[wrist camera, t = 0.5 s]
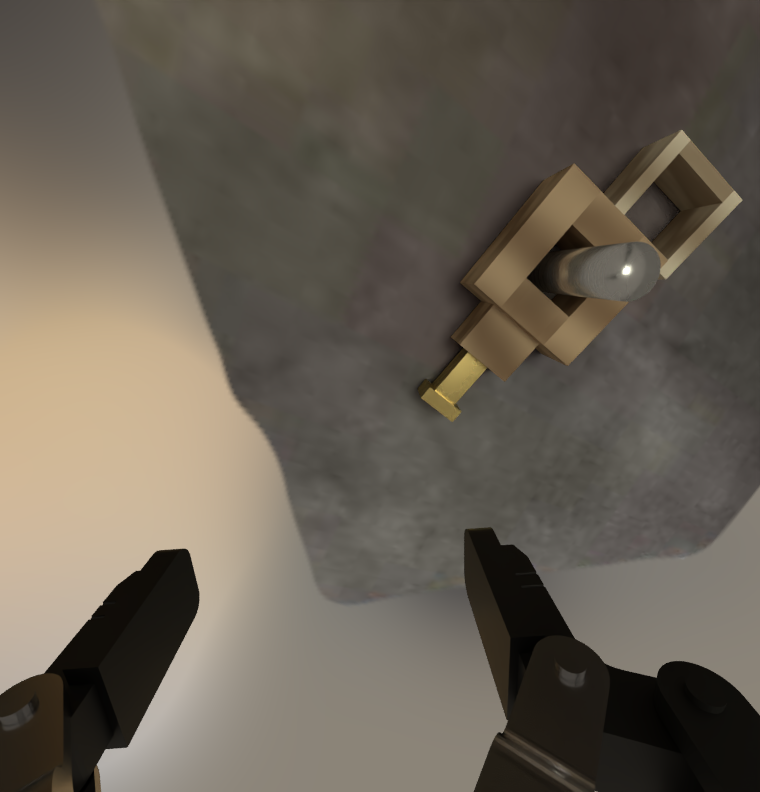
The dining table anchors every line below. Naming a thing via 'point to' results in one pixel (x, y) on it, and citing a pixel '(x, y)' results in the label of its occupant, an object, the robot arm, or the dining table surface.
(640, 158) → the frame
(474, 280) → the socket block
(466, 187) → the dining table surface
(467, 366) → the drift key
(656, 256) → the rod
